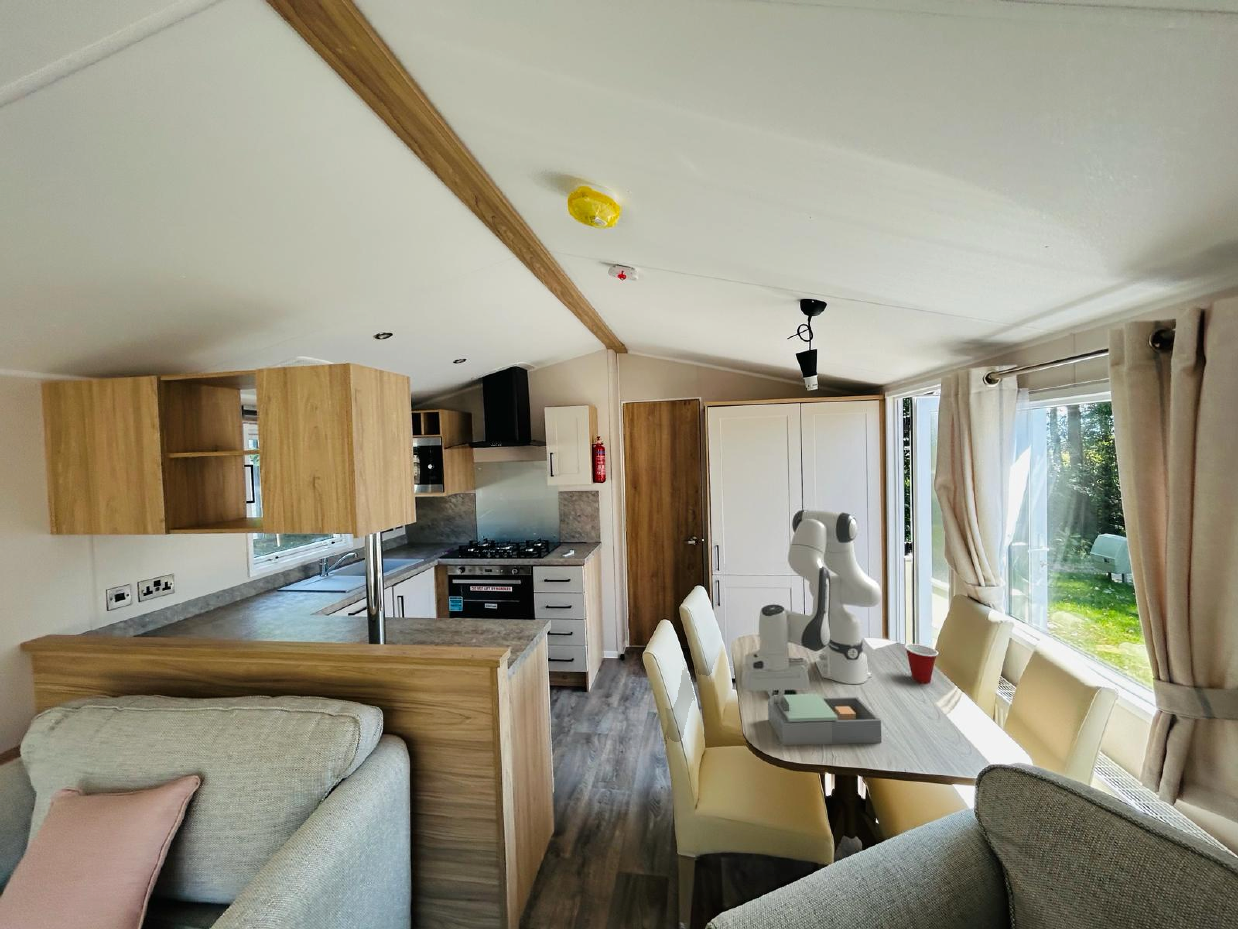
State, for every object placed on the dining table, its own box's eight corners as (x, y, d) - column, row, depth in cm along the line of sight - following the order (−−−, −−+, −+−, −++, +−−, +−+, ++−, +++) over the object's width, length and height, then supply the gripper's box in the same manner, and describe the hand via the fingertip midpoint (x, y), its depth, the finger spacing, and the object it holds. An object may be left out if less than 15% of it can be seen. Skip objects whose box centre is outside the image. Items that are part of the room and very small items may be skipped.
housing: (768, 719, 161) (767, 699, 161) (858, 716, 161) (857, 697, 161) (782, 745, 146) (782, 723, 146) (881, 742, 146) (880, 720, 146)
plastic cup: (942, 688, 178) (941, 655, 178) (908, 684, 182) (907, 652, 182) (935, 675, 188) (934, 644, 188) (903, 672, 192) (902, 641, 192)
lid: (773, 698, 161) (773, 688, 161) (818, 697, 161) (818, 687, 161) (788, 721, 146) (788, 711, 146) (838, 720, 146) (837, 709, 146)
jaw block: (835, 724, 156) (834, 706, 156) (849, 723, 156) (849, 706, 156) (841, 731, 151) (841, 714, 151) (856, 731, 151) (855, 713, 151)
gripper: (804, 653, 157) (805, 697, 157) (739, 655, 157) (741, 699, 157) (811, 662, 151) (813, 707, 151) (744, 664, 151) (746, 709, 151)
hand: (775, 703), depth 154 cm, fingers closed
